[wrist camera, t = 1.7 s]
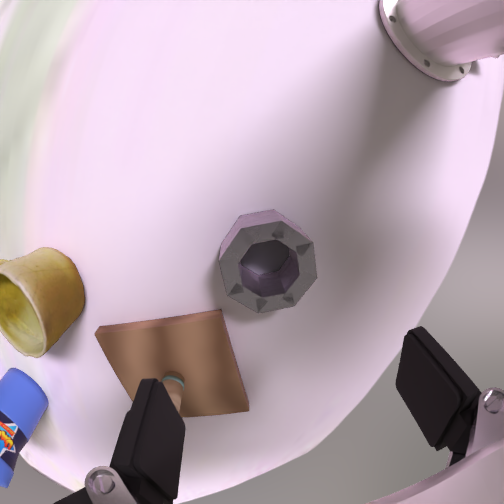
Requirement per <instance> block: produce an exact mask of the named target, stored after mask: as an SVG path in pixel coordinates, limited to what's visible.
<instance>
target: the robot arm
mask: <svg viewBox="0 0 504 504" xmlns="http://www.w3.org/2000/svg"><path fill="white" fill-rule="evenodd" d="M379 9H380V16H381V19H382V22H383V25H384V27H385V29H386V31H387V33H388V35H389V36H390V38H391V39H392V41H393V43H394V44H395V45H396V46H397V48H398V49H399V50H400V52H401V53H402V54H403V55H404V56H405V57H406V58H407V59H408V60H409V61H410V62H411V63H412V64H413V65H415V66H416V67H417V68H418V69H419V70H421V71H422V72H424V73H425V74H427V75H429V76H431V77H433V78H435V79H438V80H441V81H455V80H459V79H461V78H464V77H465V76H466V75H467V74H468V72H469V70H470V68H471V64H472V61H475V60H480V59H484V58H488V57H494V58H498V57H499V56H500V55H502V54H504V0H380V3H379ZM396 388H397V390H398V392H399V393H400V395H401V397H402V398H403V400H404V402H405V403H406V405H407V407H408V408H409V410H410V412H411V414H412V415H413V417H414V419H415V420H416V422H417V424H418V426H419V427H420V429H421V431H422V432H423V434H424V436H425V438H426V439H427V441H428V443H429V445H430V446H431V447H435V449H436V451H438V450H440V449H442V448H444V447H446V446H447V447H448V448H449V450H450V453H449V457H448V461H447V464H446V468H445V470H442V471H441V472H439V473H437V474H435V475H433V476H431V477H429V478H427V479H425V480H423V481H421V482H418V483H416V484H414V485H412V486H409V487H407V488H405V489H403V490H400V491H398V492H395V493H393V494H390V495H388V496H385V497H382V498H380V499H377V500H374V501H371V502H368V503H365V504H504V390H502V389H500V388H496V387H495V388H488V389H486V390H485V391H483V392H482V393H481V392H480V391H479V389H478V388H477V386H476V385H475V384H474V383H473V382H472V380H471V379H470V378H469V377H468V376H467V375H466V373H465V372H464V371H463V370H462V369H461V368H460V367H459V366H458V364H457V363H456V362H455V361H454V360H453V359H452V358H451V357H450V355H449V354H448V353H447V352H446V351H445V350H444V349H443V348H442V347H441V346H440V344H439V343H438V342H437V341H436V340H435V339H434V338H433V337H432V336H431V335H430V334H429V333H428V332H427V330H426V329H425V328H423V327H422V326H420V327H417V328H414V329H411V330H409V331H408V332H407V335H405V336H404V341H403V347H402V353H401V358H400V363H399V369H398V373H397V378H396ZM184 437H185V424H184V422H183V420H182V418H181V416H180V414H179V413H178V411H177V409H176V407H175V405H174V403H173V401H172V400H171V398H170V396H169V394H168V392H167V390H166V388H165V386H164V384H163V382H159V381H158V379H156V378H149V379H141V381H140V384H139V386H138V389H137V392H136V395H135V398H134V401H133V404H132V407H131V410H130V411H128V412H127V414H126V416H125V419H124V422H123V425H122V428H121V431H120V434H119V437H118V441H117V444H116V447H115V450H114V453H113V457H112V460H111V463H110V467H107V466H99V467H96V468H94V469H92V470H91V471H90V472H89V473H88V474H87V476H86V478H85V487H84V488H83V489H81V490H79V491H77V492H75V493H73V494H71V495H69V496H67V497H65V498H63V499H61V500H59V501H57V502H55V503H54V504H173V499H176V498H177V495H178V486H179V477H180V469H181V460H182V452H183V444H184Z"/></svg>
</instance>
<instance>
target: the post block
mask: <svg viewBox="0 0 504 504" xmlns="http://www.w3.org/2000/svg"><path fill="white" fill-rule="evenodd" d="M95 336H96V338H97V340H98V342H99V344H100V346H101V348H102V350H103V352H104V354H105V355H106V357H107V359H108V361H109V363H110V365H111V366H112V368H113V370H114V372H115V373H116V375H117V377H118V379H119V380H120V382H121V384H122V385H123V387H124V388H125V390H126V392H127V393H128V395H129V396H130V398H131V400H132V401H134V398H135V395H136V392H137V389H138V386H139V384H140V381H141V379H149V378H156V379H158V381H159V382H163V384H164V386H165V388H166V390H167V392H168V394H169V396H170V398H171V400H172V401H173V403H174V405H175V407H176V409H177V411H178V413H179V414H180V416H181V417H198V416H210V415H221V414H230V413H238V412H246V411H249V401H248V398H247V395H246V392H245V389H244V385H243V382H242V379H241V376H240V372H239V369H238V366H237V362H236V359H235V356H234V352H233V349H232V345H231V342H230V338H229V335H228V331H227V328H226V324H225V321H224V317H223V314H222V310H221V309H220V310H214V311H208V312H202V313H196V314H189V315H183V316H176V317H169V318H163V319H155V320H148V321H141V322H133V323H125V324H116V325H108V326H99V328H98V329H97V331H96V332H95Z"/></svg>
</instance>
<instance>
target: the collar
mask: <svg viewBox="0 0 504 504" xmlns="http://www.w3.org/2000/svg"><path fill="white" fill-rule="evenodd" d="M276 239H277V240H279V241H280V242H282V243H283V244H285V245H286V246H288V247H289V254H290V256H289V257H288V259H287V260H286V261H285V263H284V264H283V265H282V267H281V268H280V269H279V271H278V272H272V273H267V274H262V275H257V274H255V273H254V272H252V271H250V270H249V269H247V268H246V267H244V266H242V265H241V259H242V257H243V256H244V255H245V253H246V252H247V250H248V249H249V248H250V246H251V245H252V244H256V243H261V242H266V241H271V240H276ZM219 264H220V268H221V272H222V276H223V280H224V284H225V288H226V292H227V296H229V297H231V298H232V299H234V300H236V301H238V302H239V303H241V304H243V305H245V306H246V307H248V308H250V309H252V310H253V311H255V312H257V313H262V312H268V311H273V310H278V309H283V308H288V307H293V306H295V305H296V303H297V302H298V301H299V300H300V299H301V297H302V296H303V295H304V294H305V292H306V291H307V290H308V289H309V287H310V286H311V285H312V284H313V282H314V281H315V280H316V279H317V273H316V264H315V255H314V246H313V242H312V241H311V240H310V238H309V237H308V236H307V235H306V234H305V233H304V232H303V230H302V229H301V228H300V227H298V226H297V225H295V224H294V223H293V222H291V221H290V220H288V219H287V218H285V217H284V216H283V215H281V214H280V213H278V212H277V211H275V210H274V209H273V210H268V211H262V212H257V213H252V214H247V215H241V216H240V217H239V218H238V220H237V221H236V223H235V224H234V225H233V227H232V228H231V230H230V231H229V233H228V234H227V236H226V237H225V239H224V240H223V242H222V244H221V250H220V256H219Z"/></svg>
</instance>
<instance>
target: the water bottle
mask: <svg viewBox="0 0 504 504" xmlns="http://www.w3.org/2000/svg"><path fill="white" fill-rule="evenodd" d="M47 406H48V399H47V396H46V395H45V393H44V392H43V390H42V389H41V388H40V386H39V385H38V384H37V383H36V382H35V381H34V380H33V379H32V378H31V377H29V376H28V375H27V374H25V373H24V372H22V371H21V370H18V369H16V368H10V369H9V370H8V371H7V373H6V374H5V375H4V376H3V378H2V379H1V380H0V486H2V487H5V488H7V487H8V486H9V483H10V481H11V479H12V477H13V474H14V473H13V471H14V468H15V465H16V461H17V458H18V455H19V452H20V451H21V450H22V448H23V447H24V446H25V444H26V443H27V442H28V441H29V439H30V437H31V435H32V433H33V431H34V429H35V428H36V426H37V424H38V422H39V420H40V418H41V417H42V415H43V413H44V411H45V410H46V408H47Z"/></svg>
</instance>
